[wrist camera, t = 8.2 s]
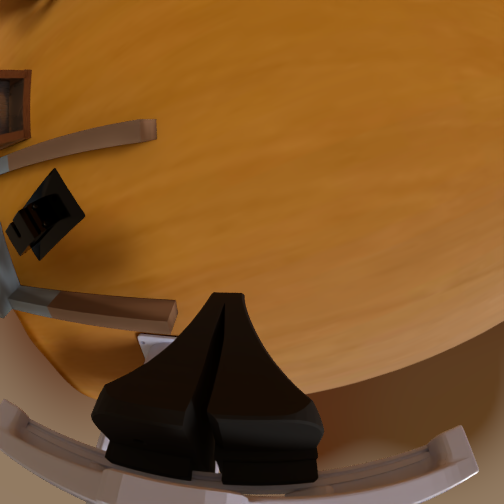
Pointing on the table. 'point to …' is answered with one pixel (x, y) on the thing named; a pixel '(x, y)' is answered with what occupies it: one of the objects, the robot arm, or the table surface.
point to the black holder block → (45, 217)
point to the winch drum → (14, 106)
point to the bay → (71, 303)
